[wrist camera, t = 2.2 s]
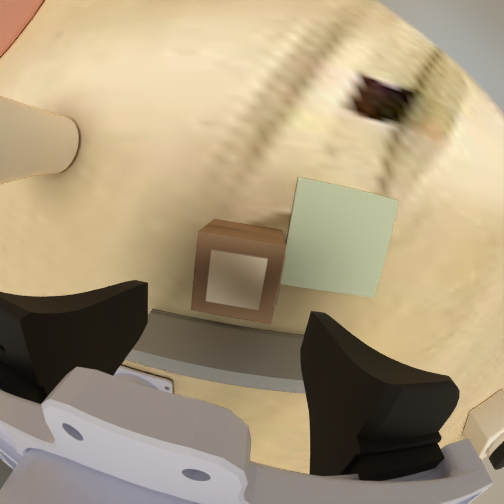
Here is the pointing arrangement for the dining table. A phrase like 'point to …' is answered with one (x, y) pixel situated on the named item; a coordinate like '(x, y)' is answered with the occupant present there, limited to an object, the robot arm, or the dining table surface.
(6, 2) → the cake
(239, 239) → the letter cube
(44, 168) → the beige paper cup
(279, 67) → the dining table surface
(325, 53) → the dining table surface
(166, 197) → the dining table surface
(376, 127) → the dining table surface
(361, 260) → the pad
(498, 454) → the medicine bottle
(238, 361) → the grey block
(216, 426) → the robot arm
